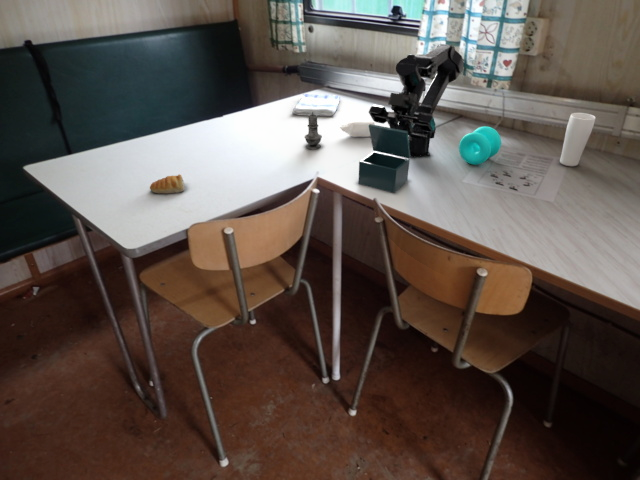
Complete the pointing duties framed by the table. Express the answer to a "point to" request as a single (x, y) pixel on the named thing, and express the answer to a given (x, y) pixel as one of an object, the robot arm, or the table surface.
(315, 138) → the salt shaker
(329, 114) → the dish towel
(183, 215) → the table surface
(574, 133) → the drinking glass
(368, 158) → the open-top green box
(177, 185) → the pastry
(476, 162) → the donuts
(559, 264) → the table surface
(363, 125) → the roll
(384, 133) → the green box lid
